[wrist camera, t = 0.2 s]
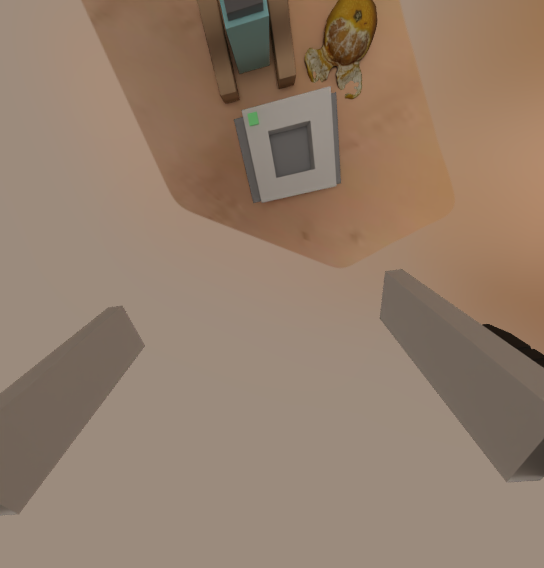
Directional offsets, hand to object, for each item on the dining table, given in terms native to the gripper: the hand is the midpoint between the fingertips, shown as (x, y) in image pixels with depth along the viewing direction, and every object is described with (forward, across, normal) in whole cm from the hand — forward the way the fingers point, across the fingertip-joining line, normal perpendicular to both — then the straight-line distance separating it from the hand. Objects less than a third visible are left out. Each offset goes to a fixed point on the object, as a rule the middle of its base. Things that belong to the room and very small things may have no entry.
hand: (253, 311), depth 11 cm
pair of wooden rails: (+27, +1, +20) cm, 34 cm away
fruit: (+28, +12, +18) cm, 35 cm away
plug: (+28, +1, +20) cm, 34 cm away
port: (+27, +5, +9) cm, 29 cm away
